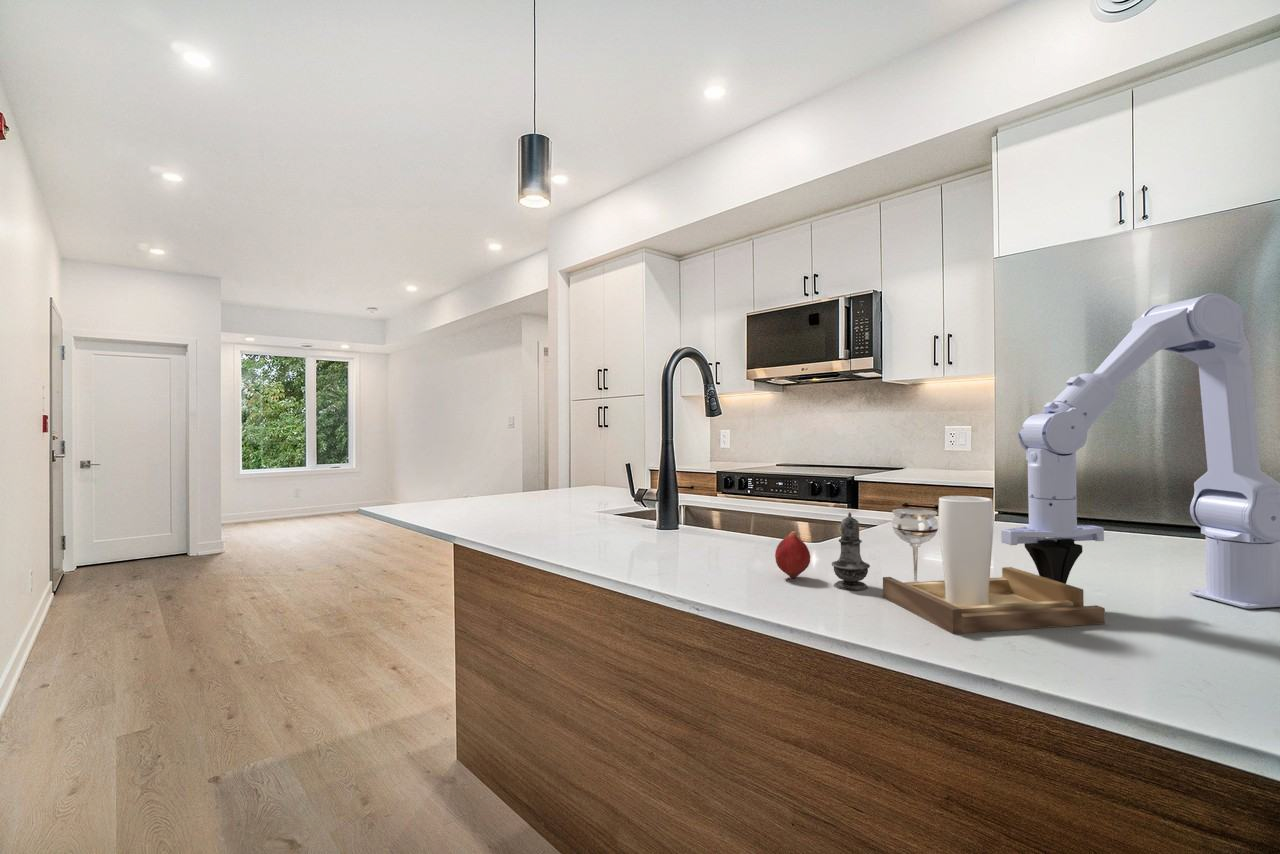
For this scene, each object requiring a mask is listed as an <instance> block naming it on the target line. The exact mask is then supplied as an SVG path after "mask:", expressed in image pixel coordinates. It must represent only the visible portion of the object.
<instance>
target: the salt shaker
mask: <svg viewBox="0 0 1280 854" xmlns="http://www.w3.org/2000/svg"><path fill="white" fill-rule="evenodd" d="M847 516H848V517H846V518H843V519H842V520H841V522H840V539H838V542H839V543H840V555H839V558H838V560H835V561H832V562H831V566H832V567H833V572H834V574H835V576H836V577H837V578H838V579H839V580H838V581H837V582H835V583H833V587H834V588H836V589H839V590H842V591H847V592H848V591H850V592H861V591H866V590H868V589H869V585H867V583H865V582H863V580H864V579H865V578H866V577H867V574H868V572H869V569H870V567H871V565H870V564H869V563H867V562H865V561H863V560H862V555H861V543H862V542H863V541H862V540H861V539H860V522H859V521H858V519H856V518H854V517H852V513H851V512H850V511H849V512H848V514H847Z"/></svg>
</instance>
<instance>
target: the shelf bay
mask: <svg viewBox="0 0 1280 854" xmlns="http://www.w3.org/2000/svg"><path fill="white" fill-rule="evenodd" d="M995 578H996V577H990V579H995ZM999 578H1002V577H999ZM940 581H941V580H930V581H929V580H928V581H926V582H940ZM907 582H908V583H921V582H922V581H918V582H911V581H907ZM882 597H883V598H884V599H886V600H887V601H890V602H891V603H894V604H895V605H897V606H899V607H901V608H903V609H905V610H907V611H909V612H911V613H913V614H914V615H917V616H918V617H921V618H923V619H924V620H926V621H928V622H929V623H931V624H934V625H935V626H937V627H939V628H941V629H943V630H945V631H947V632H949V633H951V634H968V633H969V634H971V633H983V632H984V633H985V632H997V631H999V632H1001V631H1014V630H1016V631H1017V630H1026V629H1027V630H1029V629H1044V628H1059V627H1061V628H1062V627H1072V626H1088V625H1089V626H1090V625H1102V624H1103V625H1104V624H1106V611H1105V610H1106V609H1105V607H1103V606H1100V605H1084V606H1078V607H1062V608H1046V609H1030V610H1014V611H998V612H982V613H966V614H962V610H961V609H960V608H958V607H956V606H954V605H951V604H949V603H947V602H945V601H943V600H940V599H938V598H936V597H934V596H931V595H929V594H927V593H925V592H923V591H920V590H918V589H916V588H914V587H912V586H909V585H907V584H905V582H902V581H900V580H898V579H896V578H894V577H891V576H883V577H882Z"/></svg>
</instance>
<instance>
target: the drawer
mask: <svg viewBox="0 0 1280 854" xmlns="http://www.w3.org/2000/svg"><path fill="white" fill-rule="evenodd" d="M1001 571H1002V573H1001V574H1002V575H1001V576H1002V578H1000V577H994V578H995V579H990V580H989V605H978V606H961V607H959V606H957V605H955V604H952V603H950V602H948V601H946V599H945V580H939V581H940V582H927V581H920V582H921V583H905V582H904V583H905V584H907V585H909V586H912V587H914V588H916V589H918V590H920V591H923V592H925V593H927V594H929V595H931V596H934V597H936V598H938V599H940V600H943V601H945V602H947V603H949V604H951V605H954V606H956V607H958V608H960V609H961V610H962V614H966V613H982V612H998V611H1014V610H1030V609H1046V608H1062V607H1078V606H1085V605H1084V604H1085V603H1084V588H1080V587H1077V586H1073V585H1070V584H1067V583H1066V584H1064V583H1061V582H1058V581H1055V580H1051V579H1048V578H1045V577H1042V576H1039V574H1034V573H1031V572H1028V571H1025V570H1022V569H1019V568H1015V567H1013V566H1008V567H1004V566H1003V567H1002V570H1001Z"/></svg>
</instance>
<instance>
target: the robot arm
mask: <svg viewBox="0 0 1280 854" xmlns="http://www.w3.org/2000/svg"><path fill="white" fill-rule="evenodd" d="M1242 306H1243V305H1240V304H1239V303H1237V302H1235V300H1233V299H1231V298H1230V297H1227V296H1226V295H1224V294H1221V293H1206V294H1203V295H1201V296H1198V297H1194V298H1189V299H1184V300H1180V301H1176V302H1171V303H1166V304H1159V305H1158V304H1157V305H1154V306H1151V307H1149V308H1148V309H1146V310H1145V311H1144V312H1143V313H1141V316H1140V317H1138V318H1137V319H1135V320H1134V321H1133V322H1132V324H1131V325H1132V327H1131V330H1130V331H1129V332H1128V333H1127V335H1126V336H1124V338H1123V339H1122V340H1121V341H1120V342H1119V343H1118V344H1117V346H1116V347H1115V348H1113V350H1112V351H1111V352H1110V354H1108V356H1106V358H1105V359H1104V361H1102V363H1101V364H1100V365H1099V366H1098V367H1097V368H1096V369H1095V371H1093V373H1092V372H1089V373H1087V372H1085V373H1080V374H1079V375H1077V376H1071V377H1070V378H1068V380H1066V382H1065V383H1066V385H1067V386H1066V387H1065V388H1064V389H1063V390H1062V391H1061V392H1060V393H1059V394H1058V395H1057V396H1056V397H1055V398H1054V399H1053V400H1052V401H1048V402H1046V403H1045V404H1044V405H1043V408H1044V409H1043V410H1042V413H1036V414H1032V415H1031V416H1029V417H1028V418H1027V419H1025V420H1024V422H1023V424H1022V426H1021V429H1020V431H1019V432H1017V440H1018V442H1019V444H1020V446H1021V448H1023V449H1024V452H1025V461H1027V491H1028V492H1027V498H1028V499H1027V500H1028V501H1027V502H1028V503H1027V505H1028V523H1026V524H1025V526H1020V527H1014V528H1004V529H1000V532H1001V533H1000V534H1001V535H1000V538H1001V543H1002V544H1005V545H1010V546H1018V545H1020V544H1024V548H1025V550H1026V551H1027V553H1028V554H1029V556H1030V557H1031V559H1032V561H1033V563H1034V565H1035V567H1036V570H1037V572H1038V576H1042V577H1045V578H1048V579H1051V580H1055V581H1058V582H1061V583H1064V584H1067V581H1068V579H1069V575H1070V573H1071V570H1072V569H1073V567H1074V565H1075V563H1076V562H1077V560H1078V558H1079V557H1080V555H1081V554H1083V545H1082V544H1078V543H1075V542H1083V541H1084V542H1085V541H1086V542H1087V541H1095V542H1104V541H1105V533H1104V531H1105V527H1101V526H1096V525H1078V517H1077V516H1078V514H1077V513H1078V512H1077V511H1078V509H1077V506H1078V505H1077V504H1078V503H1077V501H1078V499H1077V451H1079V450H1080V449H1081V448H1084V446H1085V445H1086V444H1087V443H1086V442H1087V440H1088V432H1089V430H1090V428H1091V426H1092V425H1094V423H1095V422H1097V421H1098V419H1100V417H1101V416H1102V415H1104V413H1106V412H1107V410H1109V408H1110V407H1111V406H1112V405H1114V403H1116V401H1117V400H1118V398H1119V392H1118V386H1120V385H1121V384H1122V383H1123V382H1125V381H1126V380H1127V379H1129V377H1130V376H1131V375H1132V374H1134V373H1135V372H1136V371H1137V370H1138V369H1140V367H1142V366H1143V365H1144V364H1145V363H1147V361H1149V360H1150V359H1152V357H1153V356H1154V355H1155V354H1157V352H1159V351H1161V350H1163V351H1167V352H1171V353H1174V354H1177V355H1181V356H1184V357H1185V358H1187V359H1188V360H1189V361H1191V362H1194V364H1196V365H1197V366H1198V375H1199V377H1198V378H1199V388H1200V398H1201V410H1202V420H1203V432H1204V442H1205V443H1204V445H1205V455H1206V464H1207V466H1206V467H1207V471H1206V472H1205V473H1204V474H1203V475H1201V476H1200V477H1198V478H1197V480H1196V481H1194V483H1193V487H1194V491H1193V492H1194V493H1193V497H1192V499H1191V502H1190V505H1189V512H1190V517H1191V519H1192V521H1193V522H1194V524H1195V525H1197V527H1199V528H1200V534H1201V535H1205V576H1206V577H1205V583H1206V585H1205V589H1192V590H1189V594H1190V595H1193V596H1196V597H1202V598H1204V599H1209V600H1213V601H1216V602H1220V603H1224V604H1227V605H1231V606H1235V607H1238V608H1243V609H1247V610H1248V609H1249V610H1253V609H1264V608H1265V609H1266V608H1276V607H1277V608H1280V482H1279V481H1278V480H1275V479H1274V478H1273V477H1271V476H1270V475H1268V474H1267V473H1265V472H1264V471H1262V469H1261V461H1260V451H1259V450H1260V449H1259V439H1258V427H1257V416H1256V415H1257V413H1256V404H1255V394H1254V393H1255V392H1254V381H1253V371H1252V360H1251V348H1250V343H1249V341H1248V339H1247V338H1246V335H1245V328H1244V319H1243V317H1244V316H1243V307H1242Z"/></svg>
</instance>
